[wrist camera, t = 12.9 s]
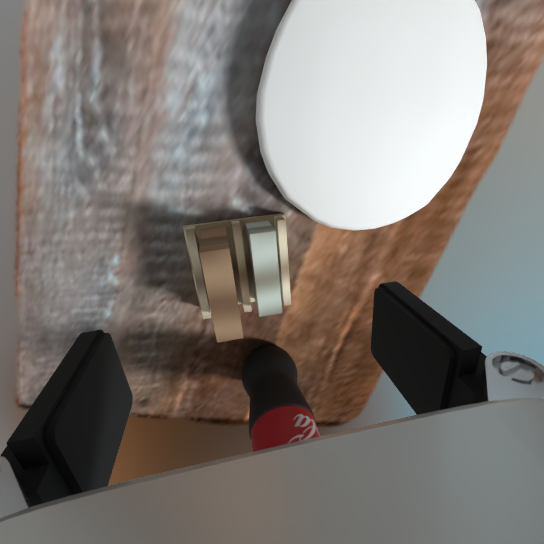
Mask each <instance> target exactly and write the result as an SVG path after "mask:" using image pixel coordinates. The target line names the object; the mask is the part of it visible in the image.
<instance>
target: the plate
mask: <svg viewBox="0 0 544 544" xmlns="http://www.w3.org/2000/svg"><path fill="white" fill-rule="evenodd" d="M486 69H487V55H486V37H485V32H484V27H483V23H482V18H481V13H480V10H479V8H478V6H477V4H476V2H475V0H292V1H291V2H290V4H289V6H288V8H287V10H286V12H285V14H284V16H283V18H282V20H281V22H280V23H279V25H278V27H277V29H276V32H275V34H274V37H273V40H272V42H271V45H270V48H269V50H268V53H267V56H266V59H265V63H264V67H263V71H262V76H261V80H260V84H259V88H258V92H257V101H256V126H257V133H258V139H259V146H260V152H261V155H262V158H263V160H264V163H265V166H266V169H267V171H268V173H269V175H270V177H271V178H272V180H273V181H274V183H275V185H276V186H277V188H278V189H279V191H280V193H281V194H282V196H283V197H284V199H286V200H287V201H288V202H290V203H291V204H292V205H294V206H295V207H296V208H298V209H299V210H301V211H302V212H303V213H305V214H306V215H307V216H309V217H310V218H311V219H313V220H314V221H316V222H318V223H321V224H323V225H326V226H328V227H331V228H339V229H347V230H365V229H375V228H378V227H382V226H385V225H389V224H392V223H394V222H397V221H399V220H401V219H403V218H405V217H408V216H410V215H411V214H413V213H414V212H416V211H418V210H419V209H421V208H422V207H424V206H425V205H427V204H428V203H429V202H430V200H431V199H432V198H433V197H434V196H435V195H436V193H437V192H438V191H439V190H440V189H441V188H442V187H443V185H444V184H445V183H446V182H447V181H448V180H449V178H450V177H451V175H452V173H453V172H454V170H455V169H456V167H457V165H458V164H459V162H460V161H461V159H462V156H463V154H464V152H465V150H466V147H467V145H468V143H469V140H470V138H471V136H472V134H473V131H474V129H475V127H476V124H477V121H478V117H479V114H480V110H481V106H482V103H483V96H484V87H485V78H486Z"/></svg>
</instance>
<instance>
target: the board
mask: <svg viewBox="0 0 544 544" xmlns="http://www.w3.org/2000/svg"><path fill="white" fill-rule="evenodd" d="M199 255H200V260H201V264H202V269H203V274H204V279H205V284H206V289H207V294H208V299H209V304H210V309H211V314H212V319H213V324H214V329H215V334H216V339H217V343H219V342H224V341H230V340H235V339H240V338H243V332H242V326H241V319H240V313H239V307H238V300H237V294H236V287H235V281H234V275H233V268H232V262H231V256H230V249H229V243H228V237H227V231H226V226H218V227H211V228H203V229H202V231H201V240H200V249H199Z"/></svg>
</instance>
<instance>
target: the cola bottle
mask: <svg viewBox="0 0 544 544" xmlns="http://www.w3.org/2000/svg"><path fill="white" fill-rule="evenodd" d="M242 381H243V385H244V388H245V390H246V392H247V394H248V395H249V397H250V414H249V434H250V438H251V441H252V448H253V452H254V451H259V450H263V449H267V448H272V447H276V446H280V445H285V444H289V443H294V442H298V441H302V440H307V439H311V438H316V437H320V434H319V431H318V429H317V426H316V423H315V418H314V415H313V412H312V410H311V408H310V406H309V405H308V403H307V401H306V399H305V398H304V396H303V394H302V393H301V391H300V389H299V388H298V386H297V369H296V365H295V363H294V361H293V359H292V358H291V357H290V355H289V354H288V353H287V352H286V351H285V350H283V349H282V348H279V347H277V346H263V347H260V348H257V349H256V350H254V351H253V352H251V353H250V354H249V356H248V357H247V358H246V360H245V363H244V366H243V370H242Z"/></svg>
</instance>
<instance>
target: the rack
mask: <svg viewBox="0 0 544 544" xmlns="http://www.w3.org/2000/svg"><path fill="white" fill-rule="evenodd" d="M218 226H226V231H227V237H228V243H229V249H230V256H231V262H232V268H233V275H234V281H235V287H236V294H237V300H238V304H242V303H243V307H244V312H250V311H252V309H251V302H256V306H257V310H258V313H259V317H261V316H267V315H273V314H279V313H282V303H281V300H282V302H283V305H284V306H286V305H291V296H290V280H289V265H288V250H287V235H286V220H285V214H284V213H279V214H271V215H263V216H256V217H248V218H240V219H232V220H224V221H216V222H208V223H200V224H192V225H184V226H183V230H184V235H185V239H186V244H187V249H188V254H189V259H190V263H191V268H192V273H193V278H194V282H195V287H196V292H197V297H198V302H199V306H200V310H202V314H203V319H208V318H211V309H210V304H209V299H208V294H207V289H206V284H205V279H204V274H203V269H202V264H201V260H200V255H199V249H200V240H201V231H202V229H203V228H211V227H218Z"/></svg>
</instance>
